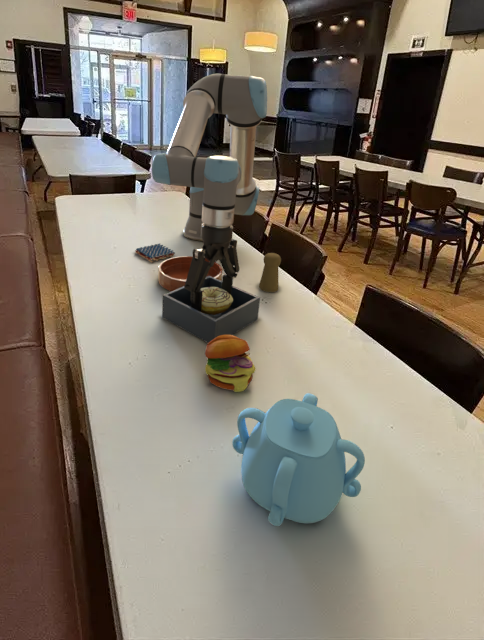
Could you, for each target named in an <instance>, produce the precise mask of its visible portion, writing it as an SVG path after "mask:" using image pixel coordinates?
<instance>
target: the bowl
mask: <svg viewBox="0 0 484 640" xmlns="http://www.w3.org/2000/svg"><path fill="white" fill-rule="evenodd" d="M205 261H207V262H210V261H208V260H207V259H205ZM191 262H192V255H181V256H173V257H171V258H170V257H169V258H166V259H164V260H163V261H162V262H160V263H159V265H158V268H157V269H158V270H157V281H158V284H159V285H160V286H161V287H162V288H163V289H165V290H167V291H168V292H171V291H174V290H176V289H179V288H181V287H183V286H185V283H186V279H187V276H188V272H189V269H190V265H191ZM223 272H224V270H223V267H222V265H221V264H219V263H217V261H216V262H215V263H214V265H213V266H212V267H210V269H209V272H208V274H207V276H206V277H208V276H211V277H213V278H216V279H218V280H220V281H222V278H223Z"/></svg>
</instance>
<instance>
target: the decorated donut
mask: <svg viewBox="0 0 484 640" xmlns="http://www.w3.org/2000/svg"><path fill="white" fill-rule="evenodd" d="M200 290H201V291H203V292H202V308H201V312H202V313H204V314H213V315H215V314H219V313H223V312H225V311H227V310H228V309H229V307H230V306H231V304H232V302H233V298H232V296H231V295H230V294H229V293H228V292H227V291H225V290H223V289H220V288H217V287H207V288H201V289H200Z"/></svg>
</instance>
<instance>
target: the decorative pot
mask: <svg viewBox="0 0 484 640" xmlns="http://www.w3.org/2000/svg"><path fill="white" fill-rule="evenodd" d="M318 400H319V398H318V396H317V395H315V394H313V393H309V392H307V393H305V394H304V395H303V397H302V400H298V399H293V398H283V399H280V400H278V401H276V402H275V403H274V404H273V405H272V406H271V407H270V408H268V410H267V411H266V412H264V410H261V409H259V408H256V407H247V408H244V409H243V410H241V411H240V413H239V414H238V416H237V421H236V425H237V431H238V434H236V435H235V436H234V437H233V439H232V441H231V442H232V443H231V444H232V448H233V449H234V451H235V452H236V453H238V454H240V455H242V459H241V467H240V468H241V469H240V475H241V480H242V485H243V487H244V489H245V491H246V493H247V494H248V495H249V497H250V498H251V499H252V500H253V501H254V502H255V503H256V504H257V505H259V506H260V507H262V508H263V509H265V510H266V511H268V512H269V514H268V517H267V521H268V522H269V524H271V525H273V526H274V527H279V526H281V525H282V524H283V523H284V521H285V520H290V521H292V522H294V523H298V524H299V523H300V524H315V523H318V522H320V521H323V520H325V519H326V518H327V517H329V516H330V515H331V514H332V513H333V511H334V510H335V509H336V507H337V506H338V505H339V502H340V501H341V498H342V496H343V495H344V496H346V497H349V498H355V497H358V496H359V495H360V493H361V492H362V484H361V483H360V481H359V480H358V479H357V477H358V476H360V474H361V472H362V471H363V469H364V467H365V462H366V459H365V454H364V451H363V450H362V449H361V448H360V446H358V444H356V443H355V442H353V441H351V440H349V439H344V438H342V436H341V433H340V430H339V427H338V425H337V422H336V420H335V418H334V417H333V415H332V414H331V413H330V412H329V411H327V410H326V409H324V408H321V407H319V406H318ZM247 418H248V419H252V420H255V421H257V422H256V424H255V425H254V427H253V429H252V430H251V433H250V434H249V431H248V427H247V423H246V419H247ZM345 453H347V454H350V455H351V456H353V457H354V458H355V459H356V461H355V463H354V464H353V465H352V466H351V467H350V468H349V469H348V471H347V465H346V462H347V461H346V455H345Z"/></svg>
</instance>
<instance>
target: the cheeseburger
mask: <svg viewBox="0 0 484 640" xmlns="http://www.w3.org/2000/svg"><path fill="white" fill-rule="evenodd" d="M250 350H251V348H250V346H249V344H248V342H247V340H246V339H243V338H240V337H238V336H236V335H234V334H233V335H220V336H217V337H216V338H214V339H213V340H211V341H210V342H209V343H207V344H206V345H205V351H204V355H205V358H207V359H206V361H207V363H206V364H205V368H204V371H205V374H206V375H207V377H208V380H209V383H211V384H212V385H215V386H216V387H218V388H220V389H225V390H229V391H233V392H235V393H242V392H244V391H245V390H246V389H247V388H248V386H249V385H250V383H251V382H252V381H253V376H254V373H255V372H256V370H257V369H256V366H255V364H254V362H253V360H252V358H251V357H250V355H251V353H247V352H249V351H250Z"/></svg>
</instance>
